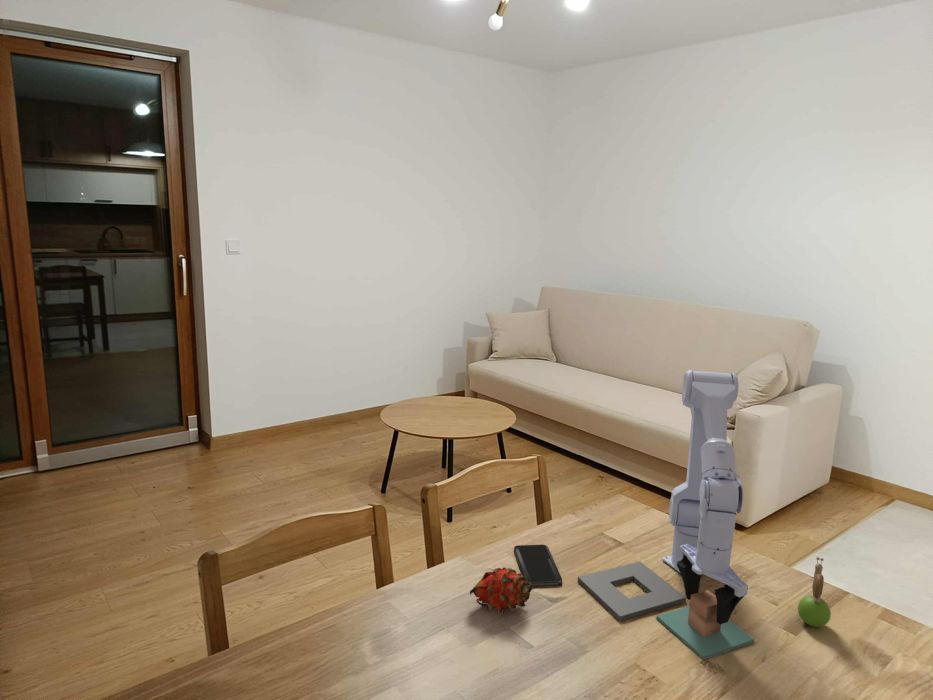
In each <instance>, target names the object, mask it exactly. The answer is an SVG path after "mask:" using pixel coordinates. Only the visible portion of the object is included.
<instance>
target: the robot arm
mask: <svg viewBox="0 0 933 700" xmlns="http://www.w3.org/2000/svg"><path fill="white" fill-rule="evenodd" d="M738 393H739V378H738V376H737V374H736V373H735V372H729V373H728V372H717V371H714V372H713V371H702V370H701V371H700V370H692V369H687V371H685V373H684V375H683V381H682V396H681V402H682V405H683V406H684V407H687V408H689V409H690V413H691V419H690V420H691V421H690V422H691V423H690V434H689V445H688V454H687V455H688V458H687V467H686V468H687V469H686V470H687V471H686V479H685V480H686V481H685V482H683V483H681V484H679V485H678V486H675V487H674V488H673V489H672V491H671V494H670V495H671V496H670V500H669V505H668V506H669V507H668V521H669V523H670V524H671V526H672V527H674V532H673V539H672V540H673V541H672V547H671V548H672V550H671V555H668V556H663V557H662V559H661V560H662V561H664V562H665V563H666V564H667V565H668V566H670V567H671V568H673V569H674V570H676V571H677V572H678V573H680V575H681V578H682V581H683V585H684V586H683V587H684V593H685V597H686V600H688V601H690V599H691V595H692V594H695V593H699V592H700V585H701V580H702V576H703V575H704V576H706V577H708V578H711V579H712V580H713V579H714V580H716V581H718V582H720V583H722V584H723V585H724V586H723V587H718V588H715V589H714V595H715V596H716V599H717V616H716V619H717V623H719V624H723V623H726V622H728V621H729V620H730V618H731V616H732V613H733V611H734V609H735V608H736V606H737V605H738V604H739V602H740V601H742V599H744V597H745V596H747V595H748V590H749V584H747V583H746V582H745V581H744V580H742V578H741V577H740V576H739V575H738V573H736V572H735V570H734V569H733V568H732V567H731V566H730V565H731V557H732V551H733V544H734V543H733V541H734V535H735V534H734V533H735V527H736V519H737V514H740V513H741V512H742V508H743V503H744V489H743V488H744V487H743V484H742V480H741V478H740V474H737V467H736V465H737V464H736V455H735V448H734V446H733V445H732V444H731V443H730V442H729V441H728V435H727V433H728V432H727V431H728V411H729V410H730V409H732V408H733V406H734V403H735V402H736V401H737V398H738V396H739V395H738Z"/></svg>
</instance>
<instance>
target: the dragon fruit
mask: <svg viewBox="0 0 933 700" xmlns="http://www.w3.org/2000/svg"><path fill="white" fill-rule="evenodd" d="M532 590H533V587H531V586H530V583H529V582H528V581H526V579H525V577H524V576H523V575H522V574H521V572H520V573H517V570H515V569H513V568H511V567H508V568H507V567H503V568H501V567H497V568H494V569H493V570H492V571H486V572H485V573H484V574H483V576H482V578H480V580H479V581H478V582H477V583H476V584H475V586H473V588H471V590H470V591H469V594H470V595H471V596H472V593H473V595H474V596H475V597H476V598H477V599H476V600H475V602H476V603H477V604H478V605H480V606H481V607H484V608H487V611H491V610H493V609H494V608H496V609H497V613H498V614H499V615H503V614H504V613H507V612H508V610H509V611H516V610H517V606H518V607H521V608H525V607H526V605H527V604H525V602H527V601H528V600H530V596H531V592H532ZM470 595H469V596H470Z"/></svg>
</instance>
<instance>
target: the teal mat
mask: <svg viewBox="0 0 933 700" xmlns="http://www.w3.org/2000/svg"><path fill="white" fill-rule="evenodd" d="M689 608H690V605H688V606H684V607H682V608H678V609H675V610H671V611H669V612H665V613H662V614H661V613H660V614H657V615H656V620H657V621H659V622H660V623H661V624H662V625H663V626H664V627H665V628H666V629H668V630H669V632H671V633H672V634H673V635H675V636H676V637H677V638H678V639H679V640H680V641H681V642H683V643H684V644H685V645H686V646H687V647H688V648H690V649H691V650H692V651H693V652H694V653H695V654H696V655H697V656H699V657H700V658H701V659H702V660H706V659H709V658H712V657H715V656H718V655H720V654H723V653H727V652H729V651H733V650H734V649H735V650H736V649H739V648H741V647H744V646H747V645H750V644H752V643H755V638H753V636H751V635H750V634H748V633H747V632H746V631H744V630H743V629H742V628H740V627H739V626H738V625H737V624H736V623H734V622H733V621H731V620H730V619H729V621H728V622H726V623H723V624H721V630H720V632H717V633H713V634H710V635H707V636H704V637H703V636H702V635H701V634H700V633H699V632H697V631H696V630H695V629H694V628H693V627H691V626H690V625H689V624H688V617H689Z"/></svg>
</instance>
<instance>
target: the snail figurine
mask: <svg viewBox="0 0 933 700" xmlns="http://www.w3.org/2000/svg"><path fill="white" fill-rule="evenodd" d="M816 560H817V561H816V564H815V565H814V569H815V570H814V574H813V580H812V595H807V596H803V598H801V599H800V600H799V601H798V604H797V612H798V615H799V617H800V619H801V620H802V621H803V622H804V623H805V624H807V625H808V626H810V627H814V628H820V627H824V626H825V625H827V624H828V623H829V622H830V620H831V616H832V613H831V608H830V606H829V604H828V603H827V602H826V601H825V600H824V599H823V598H821V597H822V595H823V589H824V580H825V579H824V575H823V573H822V571H823V569H824V567H823V565H822V563H823V561H824V558H823V557H816ZM819 560H820V561H821V562H820V563H818V562H819Z"/></svg>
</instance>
